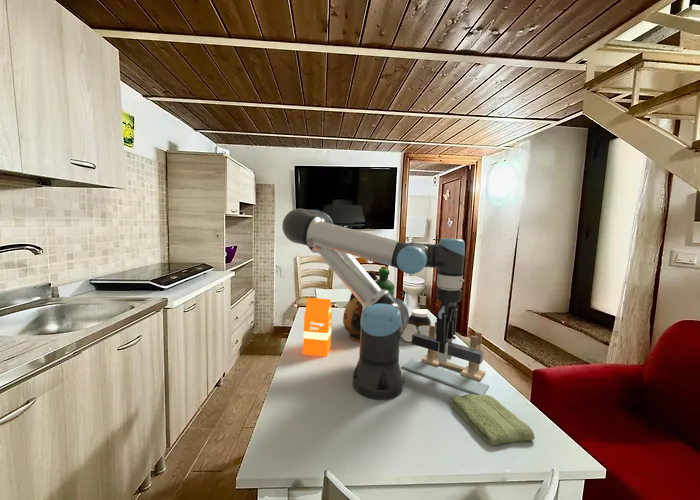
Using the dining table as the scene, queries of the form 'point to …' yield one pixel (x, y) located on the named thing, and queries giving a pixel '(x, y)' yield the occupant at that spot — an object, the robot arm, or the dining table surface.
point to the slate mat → (446, 377)
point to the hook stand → (467, 371)
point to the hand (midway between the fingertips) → (444, 359)
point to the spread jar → (417, 324)
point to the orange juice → (317, 327)
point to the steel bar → (449, 348)
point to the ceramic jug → (354, 315)
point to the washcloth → (491, 419)
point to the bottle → (385, 280)
